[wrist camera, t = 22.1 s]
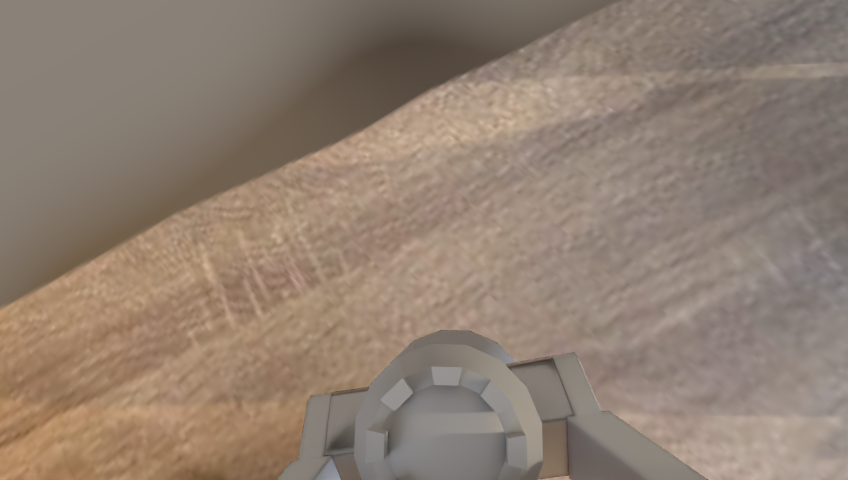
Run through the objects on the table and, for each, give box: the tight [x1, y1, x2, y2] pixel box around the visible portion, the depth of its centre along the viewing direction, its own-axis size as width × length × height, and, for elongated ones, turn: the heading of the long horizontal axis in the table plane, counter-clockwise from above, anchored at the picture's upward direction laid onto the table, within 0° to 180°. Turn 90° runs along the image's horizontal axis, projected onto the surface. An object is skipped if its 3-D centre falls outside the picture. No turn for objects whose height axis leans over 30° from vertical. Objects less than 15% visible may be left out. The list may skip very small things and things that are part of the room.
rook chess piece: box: [354, 330, 543, 480], centre depth 12 cm, size 4×4×8 cm
